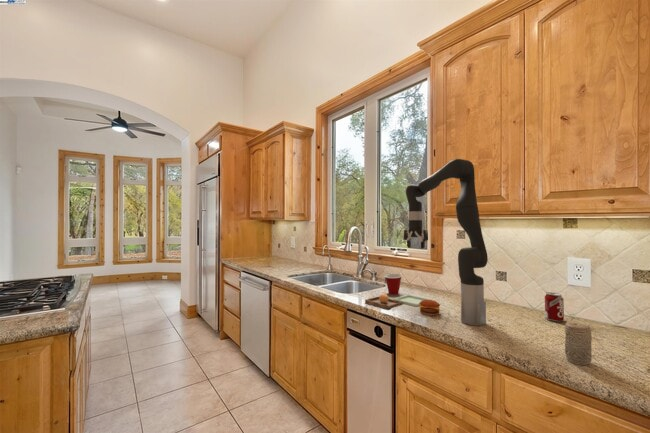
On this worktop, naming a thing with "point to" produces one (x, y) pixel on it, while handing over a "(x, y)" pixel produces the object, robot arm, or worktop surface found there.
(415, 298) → the dish
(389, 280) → the plastic cup
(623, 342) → the worktop surface
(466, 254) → the robot arm
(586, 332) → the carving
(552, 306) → the soda can
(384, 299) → the ball
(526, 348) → the worktop surface
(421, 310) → the hamburger
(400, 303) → the tray
